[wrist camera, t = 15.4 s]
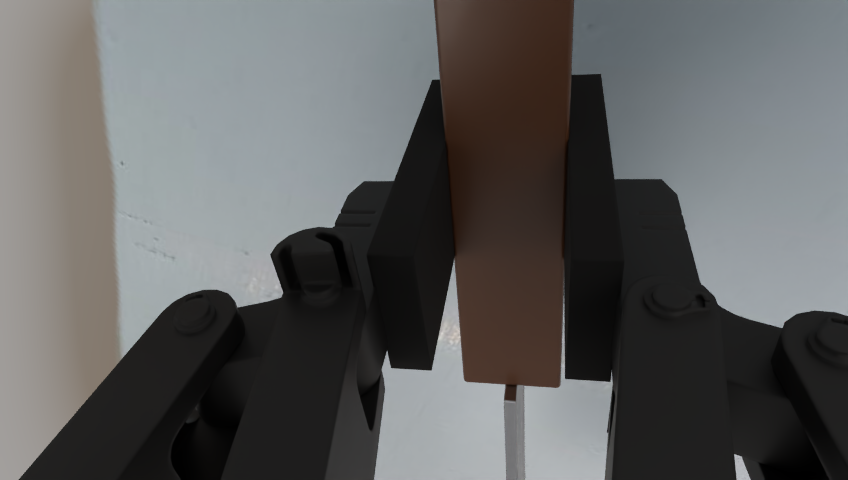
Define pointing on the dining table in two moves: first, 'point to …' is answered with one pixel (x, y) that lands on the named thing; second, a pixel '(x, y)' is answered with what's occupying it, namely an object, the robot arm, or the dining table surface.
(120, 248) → the dining table surface
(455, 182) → the knife
